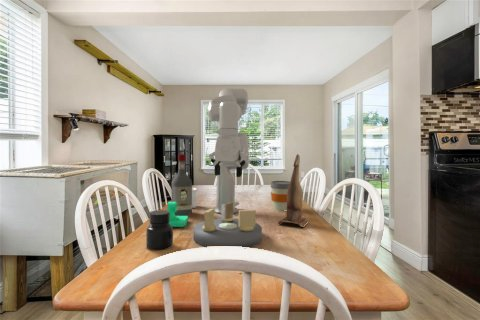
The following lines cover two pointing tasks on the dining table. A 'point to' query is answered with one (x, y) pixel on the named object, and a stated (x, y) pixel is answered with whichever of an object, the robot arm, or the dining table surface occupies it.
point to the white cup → (194, 197)
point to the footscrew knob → (227, 212)
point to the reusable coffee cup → (279, 194)
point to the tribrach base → (228, 230)
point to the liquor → (182, 189)
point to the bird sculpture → (294, 198)
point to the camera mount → (176, 220)
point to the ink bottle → (159, 231)
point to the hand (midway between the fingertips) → (228, 175)
